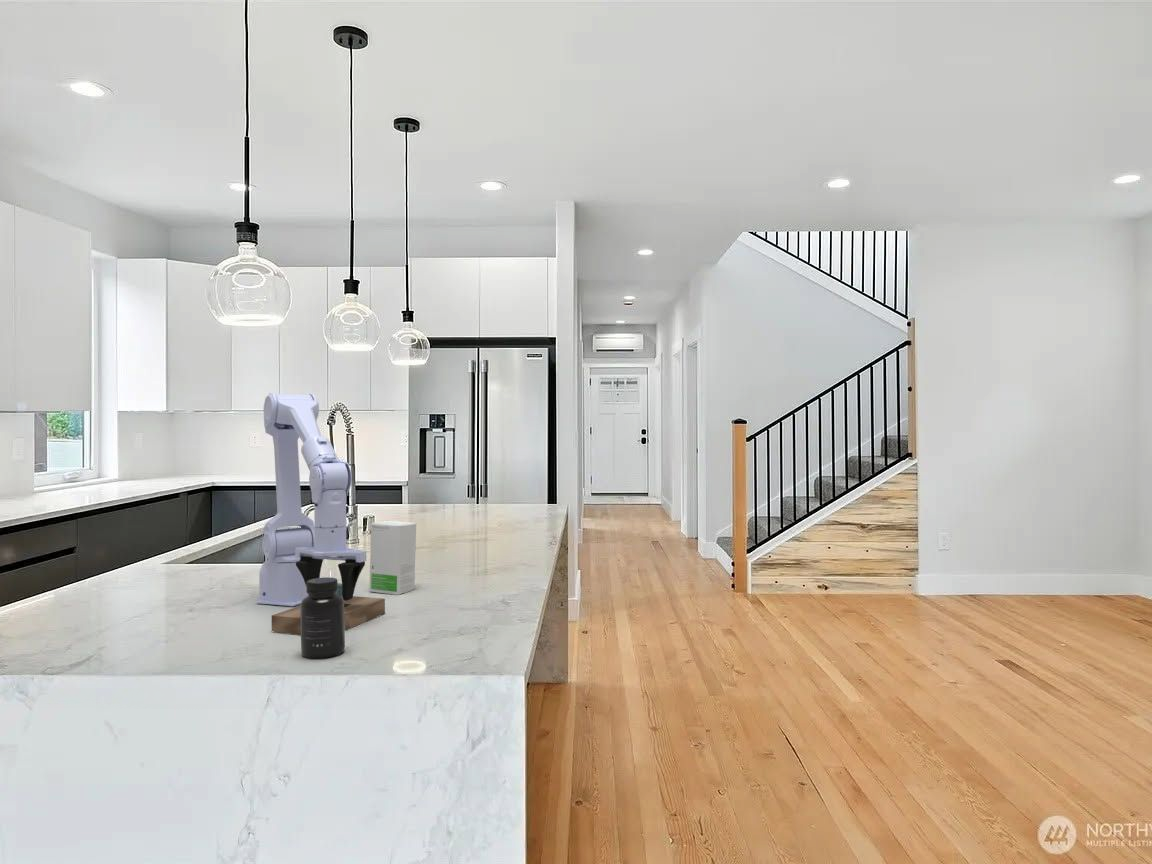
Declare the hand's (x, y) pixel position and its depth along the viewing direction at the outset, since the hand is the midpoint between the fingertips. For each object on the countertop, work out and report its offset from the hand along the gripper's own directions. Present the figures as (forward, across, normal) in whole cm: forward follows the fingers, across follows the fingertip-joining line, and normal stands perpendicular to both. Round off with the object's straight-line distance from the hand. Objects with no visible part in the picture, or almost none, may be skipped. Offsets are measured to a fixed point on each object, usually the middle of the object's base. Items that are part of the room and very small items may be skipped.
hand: (330, 598), depth 143 cm
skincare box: (+5, -4, +28) cm, 29 cm away
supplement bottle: (+5, +11, -17) cm, 21 cm away
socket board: (+5, 0, 0) cm, 5 cm away
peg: (+5, 0, 0) cm, 5 cm away
